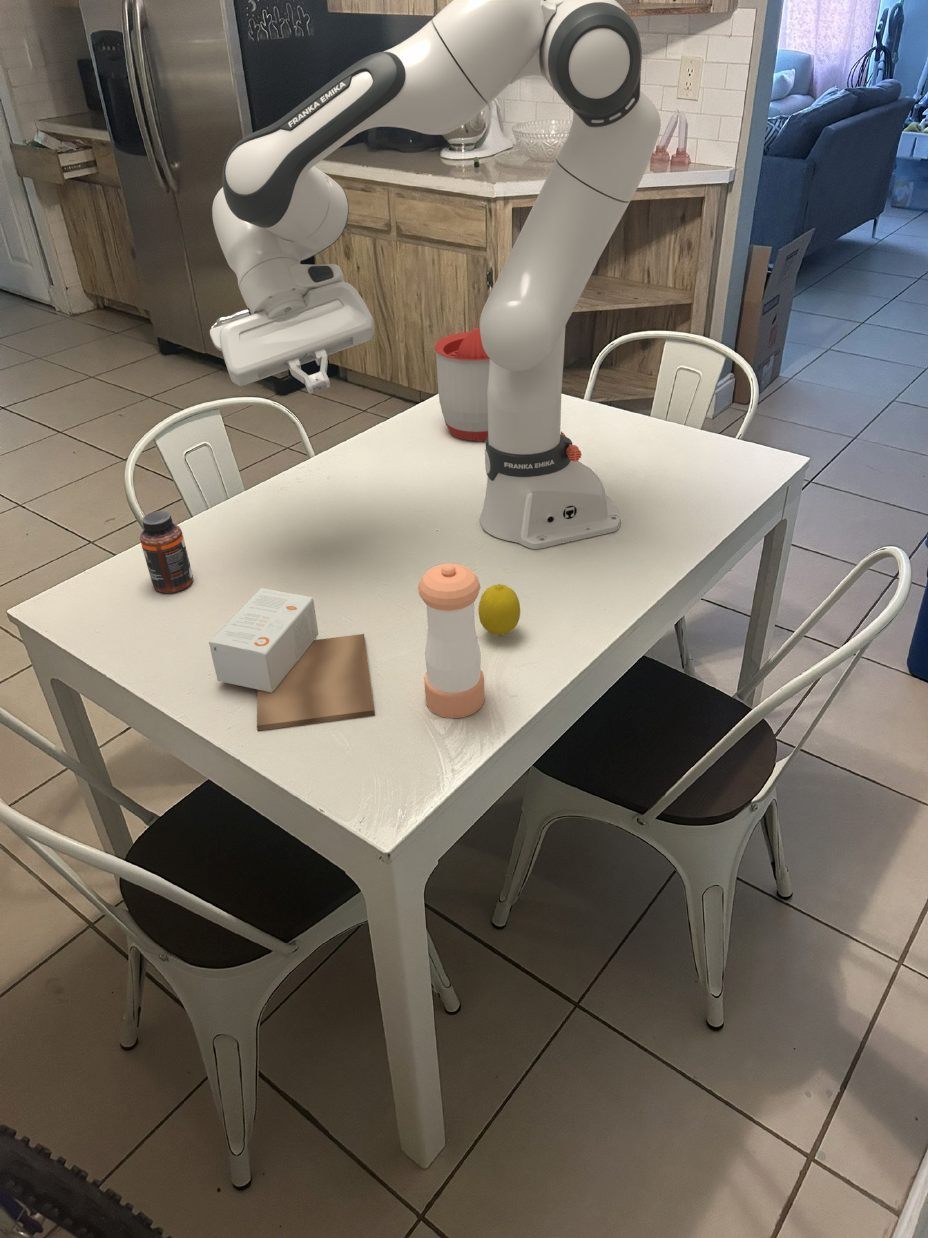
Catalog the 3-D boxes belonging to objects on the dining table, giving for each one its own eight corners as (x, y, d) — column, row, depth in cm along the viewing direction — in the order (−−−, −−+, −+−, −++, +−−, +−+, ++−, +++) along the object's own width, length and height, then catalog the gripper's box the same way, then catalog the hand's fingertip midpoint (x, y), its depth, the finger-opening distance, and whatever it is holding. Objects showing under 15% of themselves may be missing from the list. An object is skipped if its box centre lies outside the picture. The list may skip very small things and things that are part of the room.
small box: (267, 625, 127) (215, 681, 117) (260, 586, 123) (206, 641, 113) (320, 635, 124) (272, 694, 114) (314, 596, 121) (265, 653, 111)
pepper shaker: (416, 711, 112) (405, 577, 101) (438, 675, 117) (430, 545, 106) (472, 724, 110) (467, 589, 99) (492, 687, 115) (490, 555, 104)
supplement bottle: (201, 576, 139) (186, 510, 133) (179, 597, 135) (162, 529, 128) (168, 570, 141) (151, 504, 134) (145, 591, 136) (126, 524, 130)
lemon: (516, 649, 122) (516, 598, 117) (475, 645, 123) (474, 594, 118) (523, 625, 126) (523, 575, 121) (483, 621, 127) (481, 572, 122)
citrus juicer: (499, 455, 170) (498, 348, 159) (423, 436, 178) (416, 333, 167) (541, 425, 181) (542, 323, 170) (467, 409, 189) (463, 310, 178)
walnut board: (364, 638, 125) (364, 633, 124) (374, 715, 112) (374, 710, 111) (259, 651, 123) (258, 647, 122) (257, 730, 110) (256, 725, 109)
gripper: (200, 311, 118) (241, 405, 116) (349, 260, 121) (391, 351, 119) (208, 335, 124) (247, 425, 122) (350, 286, 127) (390, 373, 125)
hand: (319, 388), depth 121 cm, fingers closed
